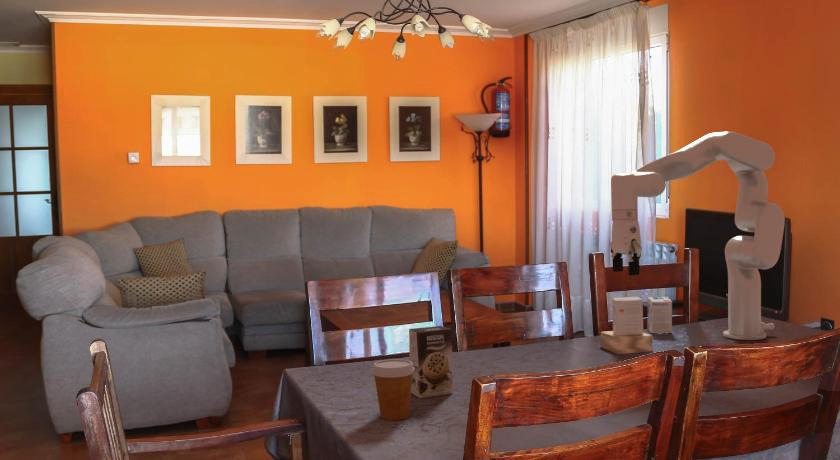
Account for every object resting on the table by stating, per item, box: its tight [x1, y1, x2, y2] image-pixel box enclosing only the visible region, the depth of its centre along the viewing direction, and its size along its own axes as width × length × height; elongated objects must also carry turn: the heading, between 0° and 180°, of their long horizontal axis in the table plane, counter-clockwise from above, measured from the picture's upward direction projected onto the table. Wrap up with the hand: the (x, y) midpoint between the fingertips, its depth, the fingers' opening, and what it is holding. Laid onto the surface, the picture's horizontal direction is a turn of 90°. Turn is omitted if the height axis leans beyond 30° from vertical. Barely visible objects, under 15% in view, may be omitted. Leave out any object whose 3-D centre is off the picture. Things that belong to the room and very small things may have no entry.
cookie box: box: [408, 325, 454, 399], centre depth 207 cm, size 9×6×16 cm
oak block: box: [600, 330, 653, 355], centre depth 251 cm, size 11×11×5 cm
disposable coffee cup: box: [371, 358, 415, 421], centre depth 188 cm, size 10×10×12 cm
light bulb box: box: [647, 296, 673, 334], centre depth 276 cm, size 11×7×11 cm, turn 172°
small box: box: [611, 296, 644, 336], centre depth 251 cm, size 8×6×10 cm
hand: (625, 273), depth 250 cm, fingers open, 9 cm apart
